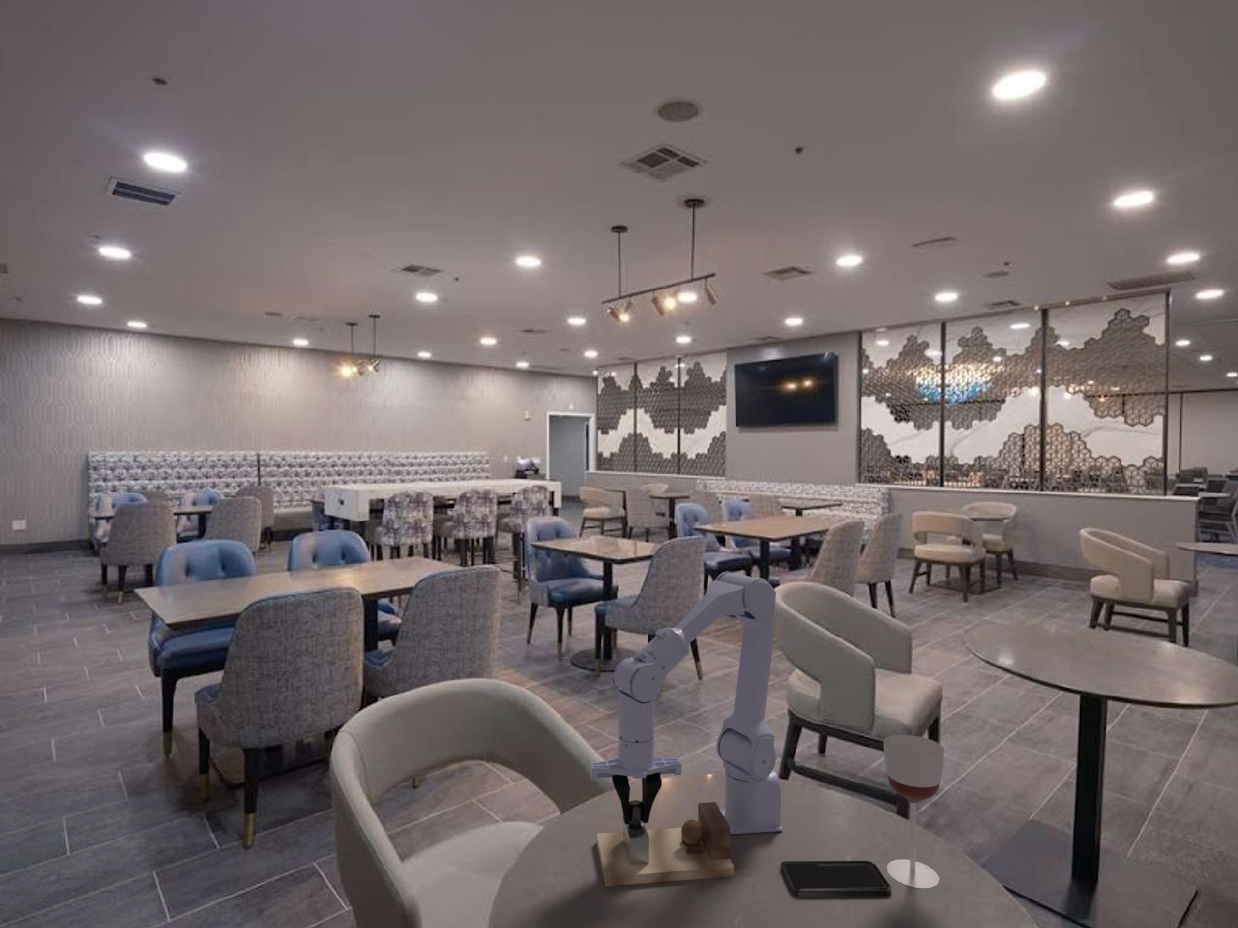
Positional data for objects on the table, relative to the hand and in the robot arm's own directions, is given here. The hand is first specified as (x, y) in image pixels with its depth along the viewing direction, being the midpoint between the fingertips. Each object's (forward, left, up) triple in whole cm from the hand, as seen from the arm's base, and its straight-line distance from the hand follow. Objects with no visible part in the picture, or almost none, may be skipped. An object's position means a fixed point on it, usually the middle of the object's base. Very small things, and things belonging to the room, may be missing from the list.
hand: (635, 820), depth 107 cm
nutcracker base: (-4, 0, -6) cm, 8 cm away
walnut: (-9, 0, -2) cm, 10 cm away
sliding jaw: (0, 0, -5) cm, 5 cm away
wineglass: (-42, +9, -7) cm, 44 cm away
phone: (-29, +9, -7) cm, 32 cm away
